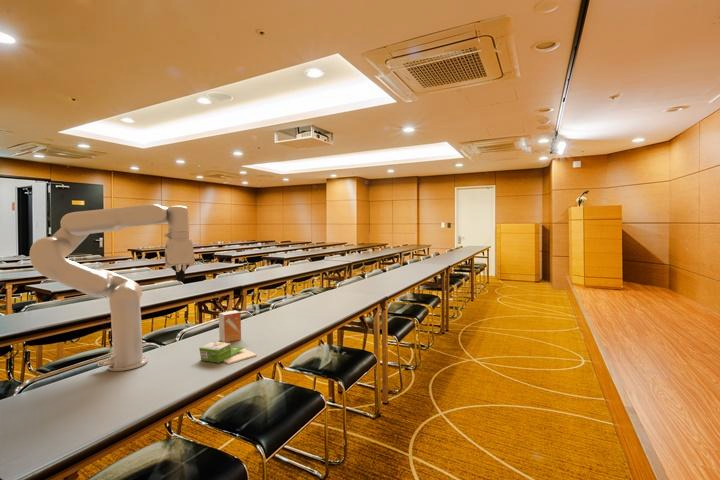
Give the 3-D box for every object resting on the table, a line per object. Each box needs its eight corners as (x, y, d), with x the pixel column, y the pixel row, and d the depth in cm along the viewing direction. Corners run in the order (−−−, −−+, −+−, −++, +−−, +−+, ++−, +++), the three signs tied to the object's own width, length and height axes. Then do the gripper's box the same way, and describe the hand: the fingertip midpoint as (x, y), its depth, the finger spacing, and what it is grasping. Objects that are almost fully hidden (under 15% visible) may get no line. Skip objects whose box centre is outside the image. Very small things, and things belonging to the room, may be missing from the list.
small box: (224, 343, 160) (223, 315, 159) (219, 340, 164) (218, 312, 164) (241, 339, 165) (240, 311, 165) (235, 336, 170) (235, 309, 170)
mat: (228, 364, 134) (228, 362, 134) (213, 355, 144) (213, 354, 144) (256, 355, 143) (256, 354, 143) (240, 348, 153) (240, 346, 152)
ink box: (198, 348, 138) (225, 334, 151) (200, 360, 139) (227, 346, 152) (217, 350, 134) (243, 336, 146) (219, 363, 135) (245, 348, 147)
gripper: (161, 236, 135) (163, 284, 135) (201, 235, 145) (202, 279, 146) (155, 236, 140) (157, 282, 141) (194, 235, 151) (195, 278, 151)
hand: (180, 281), depth 143 cm, fingers closed
